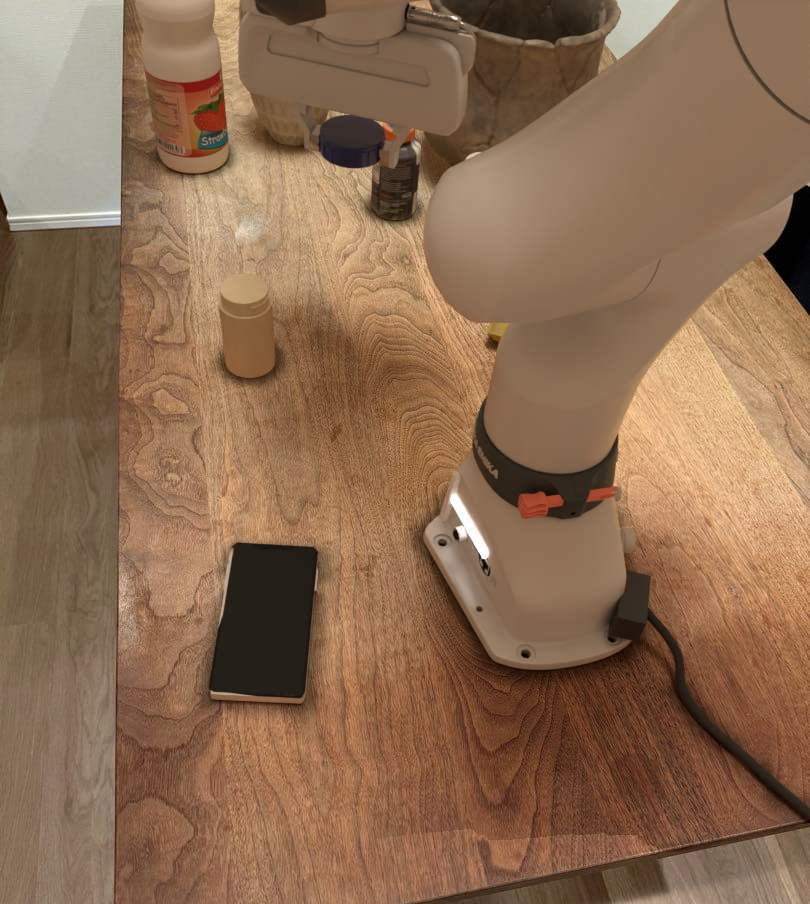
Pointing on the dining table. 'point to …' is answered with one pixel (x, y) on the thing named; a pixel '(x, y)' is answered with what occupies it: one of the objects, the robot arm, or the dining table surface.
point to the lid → (351, 141)
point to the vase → (280, 112)
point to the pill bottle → (397, 180)
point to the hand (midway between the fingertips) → (351, 155)
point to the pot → (522, 64)
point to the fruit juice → (184, 83)
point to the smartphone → (265, 624)
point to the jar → (247, 325)
